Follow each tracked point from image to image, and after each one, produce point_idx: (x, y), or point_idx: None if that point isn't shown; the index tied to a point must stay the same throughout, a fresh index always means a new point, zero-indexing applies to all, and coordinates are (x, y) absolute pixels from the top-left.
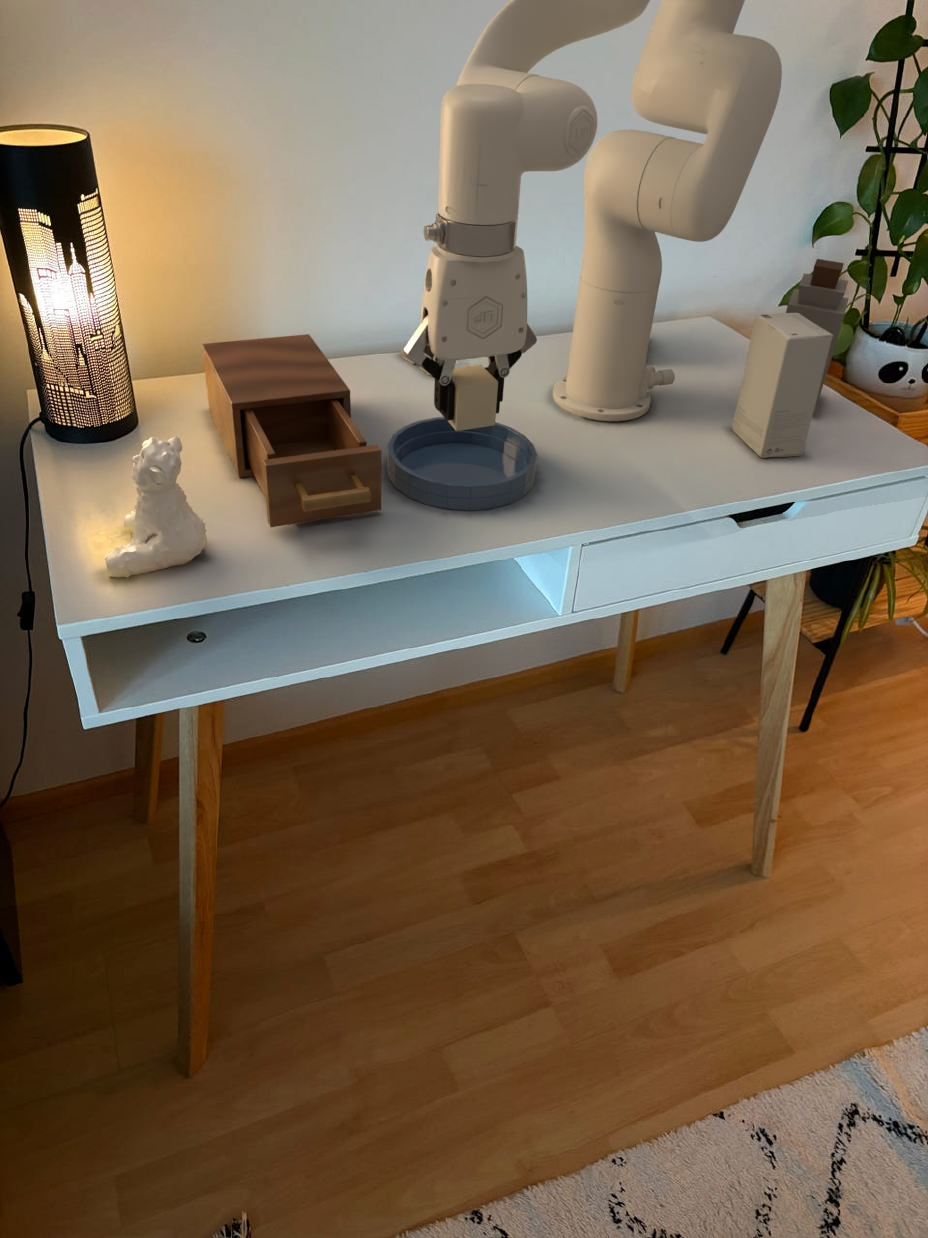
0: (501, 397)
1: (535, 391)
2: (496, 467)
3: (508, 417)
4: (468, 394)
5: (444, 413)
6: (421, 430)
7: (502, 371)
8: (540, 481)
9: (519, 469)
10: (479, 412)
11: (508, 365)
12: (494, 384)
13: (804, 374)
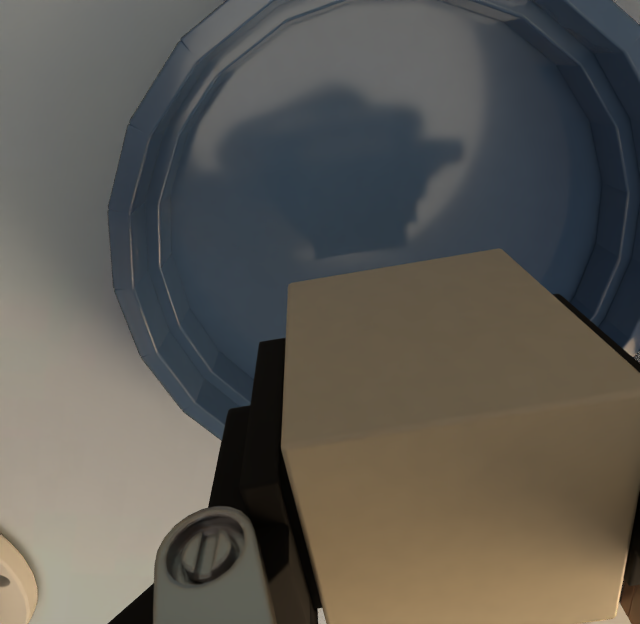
0: (234, 418)
1: (82, 615)
2: (260, 265)
3: (169, 521)
4: (521, 359)
5: None
6: None
7: (223, 552)
8: None
9: (185, 245)
10: (393, 304)
11: (158, 607)
12: (313, 427)
13: None
